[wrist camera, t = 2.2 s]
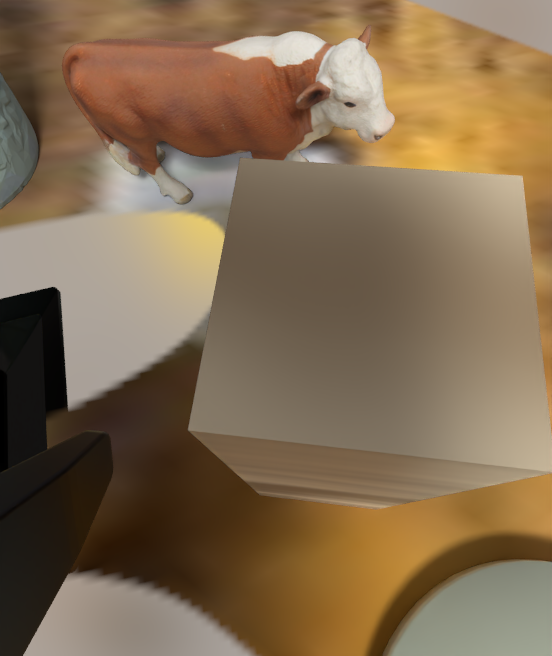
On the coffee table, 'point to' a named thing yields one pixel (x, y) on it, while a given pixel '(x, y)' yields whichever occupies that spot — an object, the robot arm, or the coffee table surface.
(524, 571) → the saucer
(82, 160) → the coffee table surface
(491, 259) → the birch block
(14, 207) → the coffee table surface
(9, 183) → the grey green pot
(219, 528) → the coffee table surface
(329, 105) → the bull figurine
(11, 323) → the black recessed tray
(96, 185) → the coffee table surface
